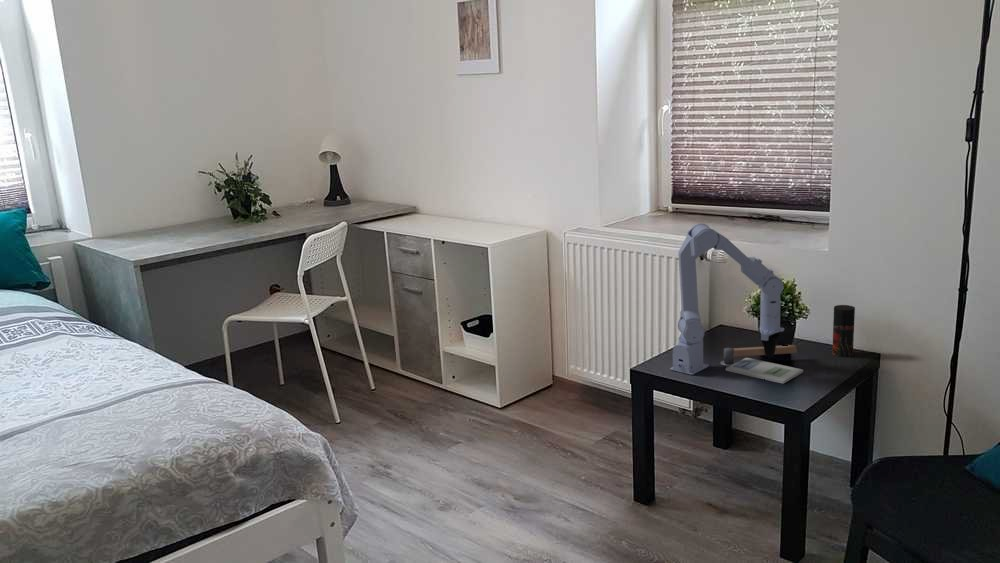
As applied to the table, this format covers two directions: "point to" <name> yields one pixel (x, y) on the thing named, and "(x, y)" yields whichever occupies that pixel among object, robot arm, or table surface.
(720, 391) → the table surface
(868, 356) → the table surface
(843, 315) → the deodorant
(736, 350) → the swing bar
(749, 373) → the label panel
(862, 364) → the table surface
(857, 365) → the table surface
